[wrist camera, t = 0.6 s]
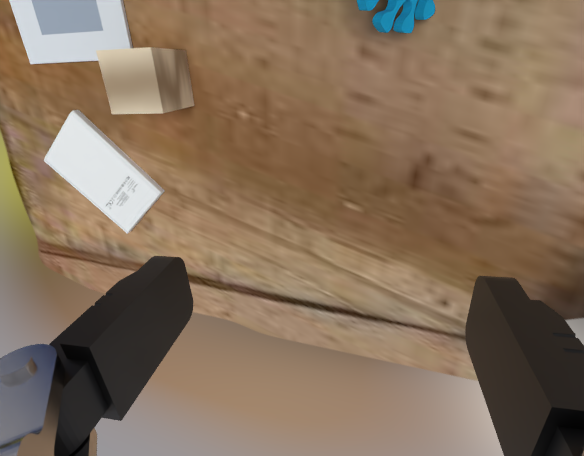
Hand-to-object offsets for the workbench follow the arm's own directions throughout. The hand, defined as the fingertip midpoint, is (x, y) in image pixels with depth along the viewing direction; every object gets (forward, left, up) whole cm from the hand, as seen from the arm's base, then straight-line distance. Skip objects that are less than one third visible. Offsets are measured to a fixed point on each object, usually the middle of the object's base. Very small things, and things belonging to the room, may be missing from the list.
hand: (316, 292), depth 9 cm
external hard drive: (+5, -28, -27) cm, 39 cm away
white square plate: (-13, -27, -26) cm, 40 cm away
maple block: (-5, -18, -26) cm, 32 cm away
